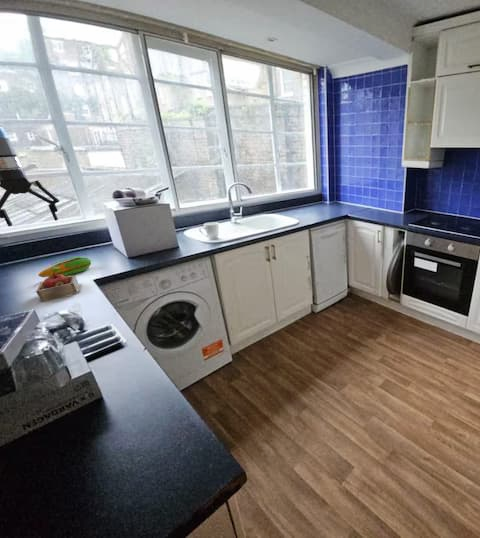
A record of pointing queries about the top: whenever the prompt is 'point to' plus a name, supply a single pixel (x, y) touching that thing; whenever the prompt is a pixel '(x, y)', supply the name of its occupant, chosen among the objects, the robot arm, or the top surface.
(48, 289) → the wooden crate
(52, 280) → the apple
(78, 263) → the corn
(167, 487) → the top surface
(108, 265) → the top surface
